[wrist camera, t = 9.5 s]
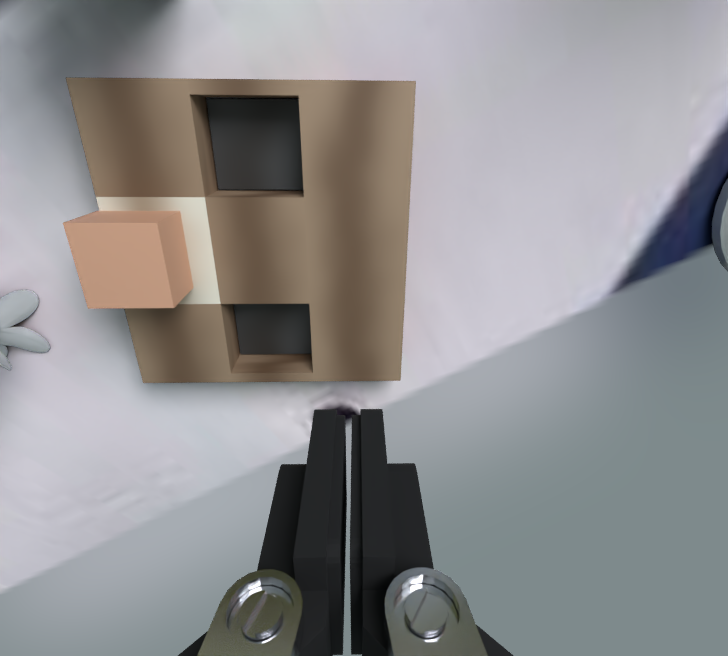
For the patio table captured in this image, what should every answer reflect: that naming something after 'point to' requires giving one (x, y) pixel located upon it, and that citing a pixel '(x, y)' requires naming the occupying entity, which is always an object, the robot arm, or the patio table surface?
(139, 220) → the block
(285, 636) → the robot arm
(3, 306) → the flower vase
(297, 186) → the board
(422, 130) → the patio table surface
